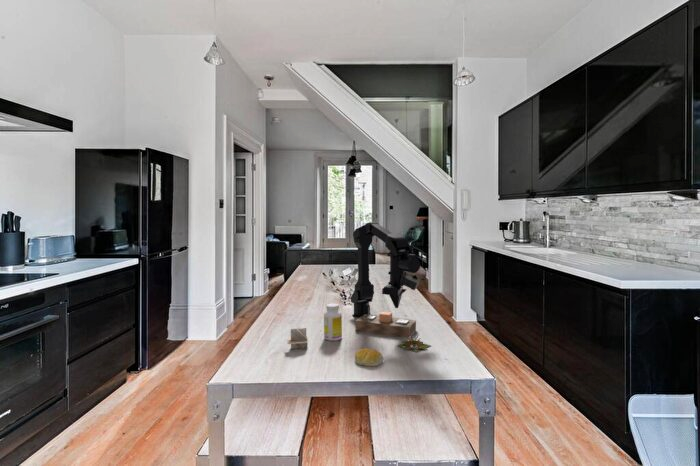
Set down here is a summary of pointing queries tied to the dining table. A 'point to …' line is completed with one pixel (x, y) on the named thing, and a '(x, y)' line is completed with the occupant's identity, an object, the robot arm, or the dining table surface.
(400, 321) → the grey block
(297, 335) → the architectural model
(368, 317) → the grey cube
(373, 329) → the console
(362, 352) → the bread roll
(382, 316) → the orange cube
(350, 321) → the dining table surface
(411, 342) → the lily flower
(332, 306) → the supplement bottle
